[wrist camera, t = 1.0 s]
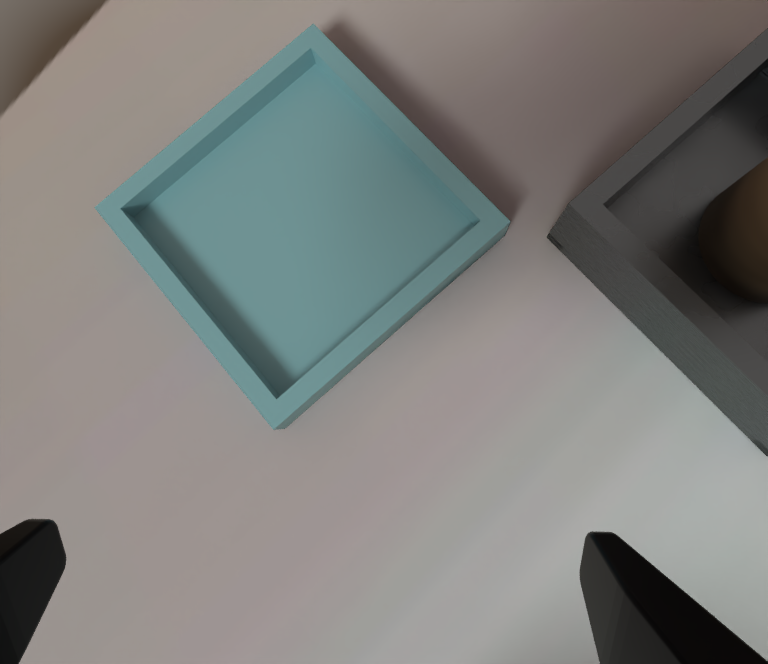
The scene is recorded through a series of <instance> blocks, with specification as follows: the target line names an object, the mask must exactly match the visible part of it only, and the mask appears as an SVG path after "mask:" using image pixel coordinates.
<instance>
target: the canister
mask: <svg viewBox="0 0 768 664" xmlns="http://www.w3.org/2000/svg"><path fill="white" fill-rule="evenodd" d="M698 239H699V248H700V252H701V255H702V258H703V261H704V263H705V265H706V266H707V268H708V270H709V271H710V273H711V274H712V275H713V277H714V278H715V279H716V280H717V281H718V282H719V283H720V284H721V285H722V286H724V287H725V288H726V289H727V290H729V291H731V292H732V293H734V294H736V295H738V296H740V297H742V298H744V299H747V300H750V301H754V302H758V303H766V304H768V157H767V158H766V159H765V160H763V161H762V162H761V163H759V164H758V165H757V166H755V167H754V168H753V169H752V170H750V171H749V172H748V173H746V174H745V175H744V176H742V177H741V178H740V179H738V180H737V181H736V182H735V183H733V184H732V185H731V186H729V187H728V188H727V189H725V190H724V191H723V192H721V193H720V194H719V195H718V196H716V198H715V199H714V200H713V201H712V202H711V203H710V204H709V206H708V207H707V208H706V210H705V212H704V214H703V216H702V219H701V222H700V227H699V237H698Z"/></svg>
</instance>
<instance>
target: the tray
mask: <svg viewBox="0 0 768 664" xmlns="http://www.w3.org/2000/svg"><path fill="white" fill-rule="evenodd" d="M94 208H95V209H96V210H97V211H98V213H99V214H100V215H101V216H102V218H103V219H104V220H105V221H106V223H107V224H108V225H109V226H110V227H111V229H112V230H113V231H114V232H115V234H116V235H117V236H118V237H119V239H120V240H121V241H122V242H123V244H124V245H125V246H126V247H127V249H128V250H129V251H130V252H131V254H132V255H133V256H134V257H135V259H136V260H137V261H138V262H139V263H140V265H141V266H142V267H143V268H144V270H145V271H146V272H147V273H148V275H149V276H150V277H151V278H152V280H153V281H154V282H155V283H156V285H157V286H158V287H159V288H160V290H161V291H162V292H163V293H164V295H165V296H166V297H167V298H168V299H169V301H170V302H171V303H172V304H173V306H174V307H175V308H176V309H177V311H178V312H179V313H180V314H181V316H182V317H183V318H184V319H185V321H186V322H187V323H188V324H189V326H190V327H191V328H192V329H193V330H194V332H195V333H196V334H197V335H198V337H199V338H200V339H201V340H202V342H203V343H204V344H205V345H206V347H207V348H208V349H209V350H210V352H211V353H212V354H213V355H214V357H215V358H216V359H217V360H218V362H219V363H220V364H221V365H222V366H223V368H224V369H225V370H226V371H227V373H228V374H229V375H230V376H231V378H232V379H233V380H234V381H235V383H236V384H237V385H238V386H239V388H240V389H241V390H242V391H243V393H244V394H245V395H246V396H247V398H248V399H249V400H250V401H251V402H252V404H253V405H254V406H255V407H256V409H257V410H258V411H259V412H260V414H261V415H262V416H263V417H264V419H265V420H266V421H267V422H268V424H269V425H270V426H271V427H272V429H273V430H276V429H285V428H286V427H287V426H289V425H290V424H291V423H292V422H293V421H294V420H295V419H297V418H298V417H299V416H300V415H301V414H302V413H303V412H305V411H306V410H307V409H308V408H309V407H310V406H311V405H313V404H314V403H315V402H316V401H317V400H318V399H319V398H320V397H322V396H323V395H324V394H325V393H326V392H327V391H328V390H330V389H331V388H332V387H333V386H334V385H335V384H336V383H338V382H339V381H340V380H341V379H342V378H343V377H344V376H346V375H347V374H348V373H349V372H350V371H351V370H352V369H353V368H355V367H356V366H357V365H358V364H359V363H360V362H361V361H363V360H364V359H365V358H366V357H367V356H368V355H369V354H371V353H372V352H373V351H374V350H375V349H376V348H377V347H379V346H380V345H381V344H382V343H383V342H384V341H385V340H386V339H388V338H389V337H390V336H391V335H392V334H393V333H394V332H396V331H397V330H398V329H399V328H400V327H401V326H402V325H404V324H405V323H406V322H407V321H408V320H409V319H410V318H412V317H413V316H414V315H415V314H416V313H417V312H418V311H419V310H421V309H422V308H423V307H424V306H425V305H426V304H427V303H429V302H430V301H431V300H432V299H433V298H434V297H435V296H437V295H438V294H439V293H440V292H441V291H442V290H443V289H445V288H446V287H447V286H448V285H449V284H450V283H451V282H453V281H454V280H455V279H456V278H457V277H458V276H459V275H460V274H462V273H463V272H464V271H465V270H466V269H467V268H468V267H470V266H471V265H472V264H473V263H474V262H475V261H476V260H478V259H479V258H480V257H481V256H482V255H483V254H484V253H486V252H487V251H488V250H489V249H490V248H491V247H492V246H493V245H495V244H496V243H497V242H498V241H499V240H500V239H501V238H503V237H504V236H505V234H506V231H507V229H508V227H509V224H510V221H509V220H508V219H507V218H506V217H505V216H504V215H503V214H502V212H501V211H500V210H499V209H498V208H497V207H496V206H495V205H494V204H493V203H492V202H491V201H490V200H489V199H488V198H487V197H486V196H485V195H484V194H483V193H482V192H481V191H480V190H479V189H478V188H477V187H476V186H475V185H474V184H473V183H472V182H471V181H470V180H469V179H468V178H467V177H466V176H465V175H464V174H463V173H462V172H461V171H460V170H459V169H458V168H457V167H456V166H455V165H454V164H453V163H452V162H451V161H450V160H449V159H448V158H447V157H446V156H445V155H444V154H443V153H442V152H441V151H440V150H439V149H438V148H437V147H436V146H435V145H434V144H433V143H432V142H431V141H430V140H429V139H428V138H427V137H426V136H425V135H424V134H423V133H422V132H421V131H420V130H419V129H418V128H417V127H416V126H415V125H414V124H413V123H412V122H411V121H410V120H409V119H408V118H407V117H406V116H405V115H404V114H403V113H402V112H401V111H400V110H399V109H398V108H397V107H396V106H395V105H394V104H393V103H392V102H391V101H390V100H389V99H388V98H387V97H386V96H385V95H384V94H383V93H382V92H381V91H380V90H379V89H378V88H377V87H376V86H375V85H374V84H373V83H372V82H371V81H370V80H369V79H368V78H367V77H366V76H365V75H364V74H363V73H362V72H361V71H360V70H359V69H358V68H357V67H356V66H355V65H354V64H353V63H352V62H351V61H350V60H349V59H348V58H347V57H346V56H345V55H344V54H343V53H342V52H341V51H340V50H339V49H338V48H337V47H336V46H335V45H334V44H333V43H332V42H331V41H330V40H329V39H328V38H327V37H326V36H325V35H324V34H323V33H322V32H321V31H320V30H319V29H318V28H317V27H316V26H315V25H314V24H312V25H311V26H310V27H309V28H307V29H306V30H305V31H304V32H303V33H301V34H300V35H299V36H298V37H297V38H296V39H294V40H293V41H292V42H291V43H290V44H288V45H287V46H286V47H285V48H284V49H282V50H281V51H280V52H279V53H278V54H277V55H275V56H274V57H273V58H272V59H271V60H269V61H268V62H267V63H266V64H265V65H263V66H262V67H261V68H260V69H259V70H257V71H256V72H255V73H254V74H253V75H252V76H250V77H249V78H248V79H247V80H246V81H244V82H243V83H242V84H241V85H240V86H238V87H237V88H236V89H235V90H234V91H232V92H231V93H230V94H229V95H228V96H227V97H225V98H224V99H223V100H222V101H221V102H219V103H218V104H217V105H216V106H215V107H213V108H212V109H211V110H210V111H209V112H208V113H206V114H205V115H204V116H203V117H202V118H200V119H199V120H198V121H197V122H196V123H194V124H193V125H192V126H191V127H190V128H188V129H187V130H186V131H185V132H184V133H183V134H181V135H180V136H179V137H178V138H177V139H175V140H174V141H173V142H172V143H171V144H169V145H168V146H167V147H166V148H165V149H163V150H162V151H161V152H160V153H159V154H158V155H156V156H155V157H154V158H153V159H152V160H150V161H149V162H148V163H147V164H146V165H144V166H143V167H142V168H141V169H140V170H138V171H137V172H136V173H135V174H134V175H133V176H131V177H130V178H129V179H128V180H127V181H125V182H124V183H123V184H122V185H121V186H119V187H118V188H117V189H116V190H115V191H114V192H112V193H111V194H110V195H109V196H108V197H106V198H105V199H104V200H103V201H102V202H100V203H99V204H98V205H97V206H96V207H94Z"/></svg>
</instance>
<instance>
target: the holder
mask: <svg viewBox="0 0 768 664" xmlns="http://www.w3.org/2000/svg"><path fill="white" fill-rule="evenodd" d="M767 157H768V28H767V29H766V30H765V31H764V32H763V33H762V34H760V35H759V36H758V37H757V38H756V39H755V40H754V41H753V42H751V43H750V44H749V45H748V46H747V47H746V48H745V49H743V50H742V51H741V52H740V53H739V54H738V55H737V56H735V57H734V58H733V59H732V60H731V61H730V62H729V63H728V64H726V65H725V66H724V67H723V68H722V69H721V70H720V71H718V72H717V73H716V74H715V75H714V76H713V77H712V78H711V79H709V80H708V81H707V82H706V83H705V84H704V85H703V86H701V87H700V88H699V89H698V90H697V91H696V92H695V93H694V94H692V95H691V96H690V97H689V98H688V99H687V100H686V101H684V102H683V103H682V104H681V105H680V106H679V107H678V108H676V109H675V110H674V111H673V112H672V113H671V114H670V115H669V116H667V117H666V118H665V119H664V120H663V121H662V122H661V123H659V124H658V125H657V126H656V127H655V128H654V129H653V130H652V131H650V132H649V133H648V134H647V135H646V136H645V137H644V138H642V139H641V140H640V141H639V142H638V143H637V144H636V145H634V146H633V147H632V148H631V149H630V150H629V151H628V152H627V153H625V154H624V155H623V156H622V157H621V158H620V159H619V160H617V161H616V162H615V163H614V164H613V165H612V166H611V167H610V168H608V169H607V170H606V171H605V172H604V173H603V174H602V175H600V176H599V177H598V178H597V179H596V180H595V181H594V182H593V183H591V184H590V185H589V186H588V187H587V188H586V189H585V190H583V191H582V192H581V193H580V194H579V195H578V196H577V197H575V198H574V199H573V200H572V201H571V202H570V203H569V204H568V205H567V207H566V208H565V210H564V211H563V213H562V214H561V216H560V218H559V219H558V221H557V222H556V224H555V225H554V227H553V228H552V230H551V231H550V233H549V234H548V236H547V238H548V239H549V240H550V241H551V242H552V243H553V244H554V245H555V246H556V247H557V248H558V249H559V250H560V251H561V252H562V253H563V254H564V255H565V256H566V257H567V258H568V259H569V260H570V261H571V262H572V263H573V264H574V265H575V266H576V267H577V268H578V269H579V270H580V271H581V272H582V273H583V274H584V275H585V276H586V277H587V278H588V279H589V280H590V281H591V282H592V283H593V284H594V285H595V286H596V287H597V288H598V289H599V290H600V291H601V292H602V293H603V294H604V295H605V296H606V297H607V298H608V299H609V300H610V301H611V302H612V303H613V304H614V305H615V306H616V307H617V308H618V309H619V310H620V311H621V312H622V313H623V314H624V315H625V316H626V317H627V318H628V319H629V320H630V321H631V322H632V323H633V324H635V325H636V326H637V327H638V328H639V329H640V330H641V331H642V332H643V333H644V334H645V335H646V336H647V337H648V338H649V339H650V340H651V341H652V342H653V343H654V344H655V345H656V346H657V347H658V348H659V349H660V350H661V351H662V352H663V353H664V354H665V355H666V356H667V357H668V358H669V359H670V360H671V361H672V362H673V363H674V364H675V365H676V366H677V367H678V368H679V369H680V370H681V371H682V372H683V373H684V374H685V375H686V376H687V377H688V378H689V379H690V380H691V381H692V382H693V383H694V384H695V385H696V386H697V387H698V388H699V389H700V390H701V391H702V392H703V393H704V394H705V395H706V396H707V397H708V398H709V399H710V400H711V401H712V402H713V403H714V404H715V405H716V406H717V407H718V408H719V409H720V410H721V411H722V412H723V413H724V414H725V415H726V416H727V417H728V418H729V419H730V420H731V421H732V422H733V423H734V424H735V425H736V426H737V427H738V428H739V429H740V430H741V431H742V432H743V433H744V434H745V435H746V436H747V437H748V438H749V439H750V440H751V441H752V442H753V443H754V444H755V445H756V446H757V447H758V448H759V449H760V450H761V451H762V452H763V453H764V454H765V455H766V456H768V304H766V303H758V302H754V301H750V300H747V299H744V298H742V297H740V296H738V295H736V294H734V293H732V292H731V291H729V290H727V289H726V288H725V287H724V286H722V285H721V284H720V283H719V282H718V281H717V280H716V279H715V278H714V277H713V275H712V274H711V273H710V271H709V270H708V268H707V266H706V265H705V263H704V261H703V258H702V255H701V252H700V248H699V239H698V237H699V227H700V222H701V219H702V216H703V214H704V212H705V210H706V208H707V207H708V206H709V204H710V203H711V202H712V201H713V200H714V199H715V198H716V196H718V195H719V194H720V193H721V192H723V191H724V190H725V189H727V188H728V187H729V186H731V185H732V184H733V183H735V182H736V181H737V180H738V179H740V178H741V177H742V176H744V175H745V174H746V173H748V172H749V171H750V170H752V169H753V168H754V167H755V166H757V165H758V164H759V163H761V162H762V161H763V160H765V159H766V158H767Z"/></svg>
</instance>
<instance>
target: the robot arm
mask: <svg viewBox="0 0 768 664" xmlns="http://www.w3.org/2000/svg"><path fill="white" fill-rule="evenodd" d="M65 565H66V553H65V550H64V547H63V543H62V540H61V536H60V533H59V530H58V526H57V524H56V523H55V522H54V521H53V520H50V519H28V520H25V521H23V522H21V523H19V524H18V525H16V526H14V527H12V528H10V529H9V530H7V531H5V532H3V533H1V534H0V664H19V662H20V660H21V658H22V656H23V654H24V652H25V650H26V648H27V646H28V644H29V642H30V640H31V638H32V636H33V634H34V632H35V630H36V628H37V626H38V624H39V622H40V619H41V617H42V615H43V613H44V611H45V609H46V607H47V605H48V603H49V601H50V599H51V597H52V594H53V592H54V590H55V588H56V586H57V584H58V582H59V580H60V578H61V576H62V574H63V571H64V569H65ZM580 582H581V587H582V591H583V595H584V599H585V604H586V608H587V612H588V616H589V620H590V624H591V628H592V633H593V637H594V641H595V645H596V649H597V653H598V657H599V661H600V664H768V661H766V660H765V659H764V658H763V657H762V656H760V655H759V654H758V653H757V652H756V651H755V650H753V649H752V648H751V647H750V646H749V645H747V644H746V643H745V642H744V641H743V640H741V639H740V638H739V637H738V636H737V635H735V634H734V633H733V632H732V631H731V630H730V629H728V628H727V627H726V626H725V625H724V624H722V623H721V622H720V621H719V620H718V619H716V618H715V617H714V616H713V615H712V614H710V613H709V612H708V611H707V610H706V609H704V608H703V607H702V606H701V605H700V604H699V603H697V602H696V601H695V600H694V599H693V598H691V597H690V596H689V595H688V594H687V593H685V592H684V591H683V590H682V589H681V588H679V587H678V586H677V585H676V584H675V583H674V582H672V581H671V580H670V579H669V578H668V577H666V576H665V575H664V574H663V573H662V572H660V571H659V570H658V569H657V568H656V567H654V566H653V565H652V564H651V563H650V562H648V561H647V560H646V559H645V558H644V557H643V556H641V555H640V554H639V553H638V552H637V551H635V550H634V549H633V548H632V547H631V546H629V545H628V544H627V543H626V542H625V541H623V540H622V539H621V538H620V537H619V536H617V535H616V534H614V533H612V532H589V533H588V534H587V536H586V538H585V543H584V549H583V554H582V560H581V565H580Z"/></svg>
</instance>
